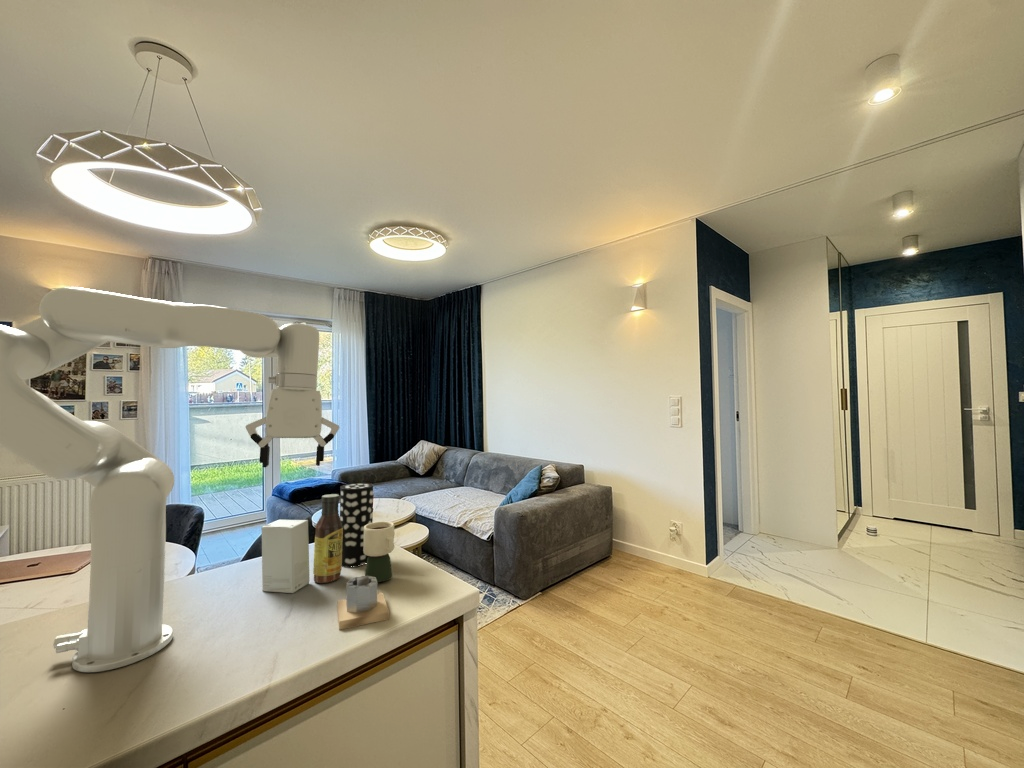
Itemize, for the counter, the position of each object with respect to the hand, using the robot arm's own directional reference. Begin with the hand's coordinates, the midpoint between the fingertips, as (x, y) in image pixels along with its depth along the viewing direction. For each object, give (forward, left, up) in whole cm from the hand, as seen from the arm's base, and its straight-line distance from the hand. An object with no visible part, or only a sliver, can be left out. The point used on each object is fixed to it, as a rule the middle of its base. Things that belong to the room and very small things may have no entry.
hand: (292, 465), depth 86 cm
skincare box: (-1, +13, -30) cm, 32 cm away
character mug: (+19, +8, -30) cm, 36 cm away
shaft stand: (+14, -7, -29) cm, 33 cm away
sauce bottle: (+8, +14, -30) cm, 33 cm away
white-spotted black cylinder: (+15, +23, -30) cm, 40 cm away
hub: (+13, -7, -28) cm, 32 cm away
